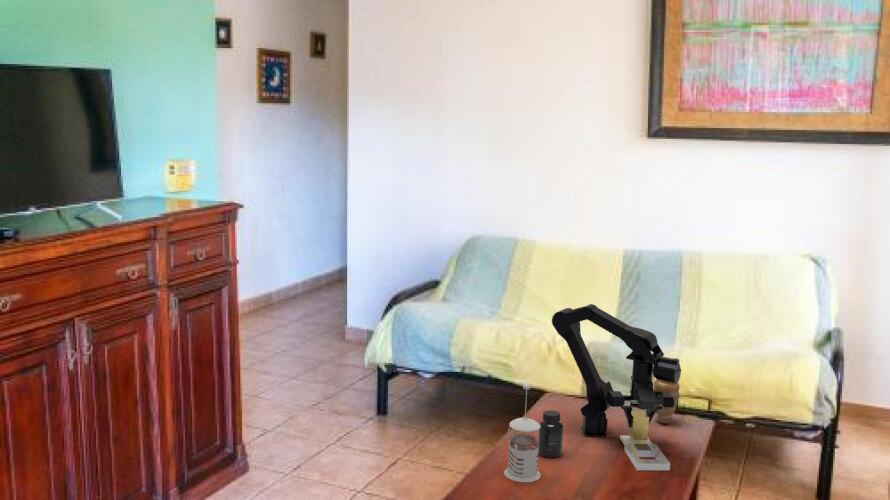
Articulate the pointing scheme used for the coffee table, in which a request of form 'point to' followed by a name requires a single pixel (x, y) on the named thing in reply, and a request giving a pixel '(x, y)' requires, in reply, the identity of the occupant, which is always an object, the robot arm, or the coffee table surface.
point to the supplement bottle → (550, 435)
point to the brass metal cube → (638, 425)
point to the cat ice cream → (673, 389)
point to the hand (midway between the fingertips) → (638, 427)
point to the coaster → (628, 440)
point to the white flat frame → (647, 451)
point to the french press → (523, 450)
